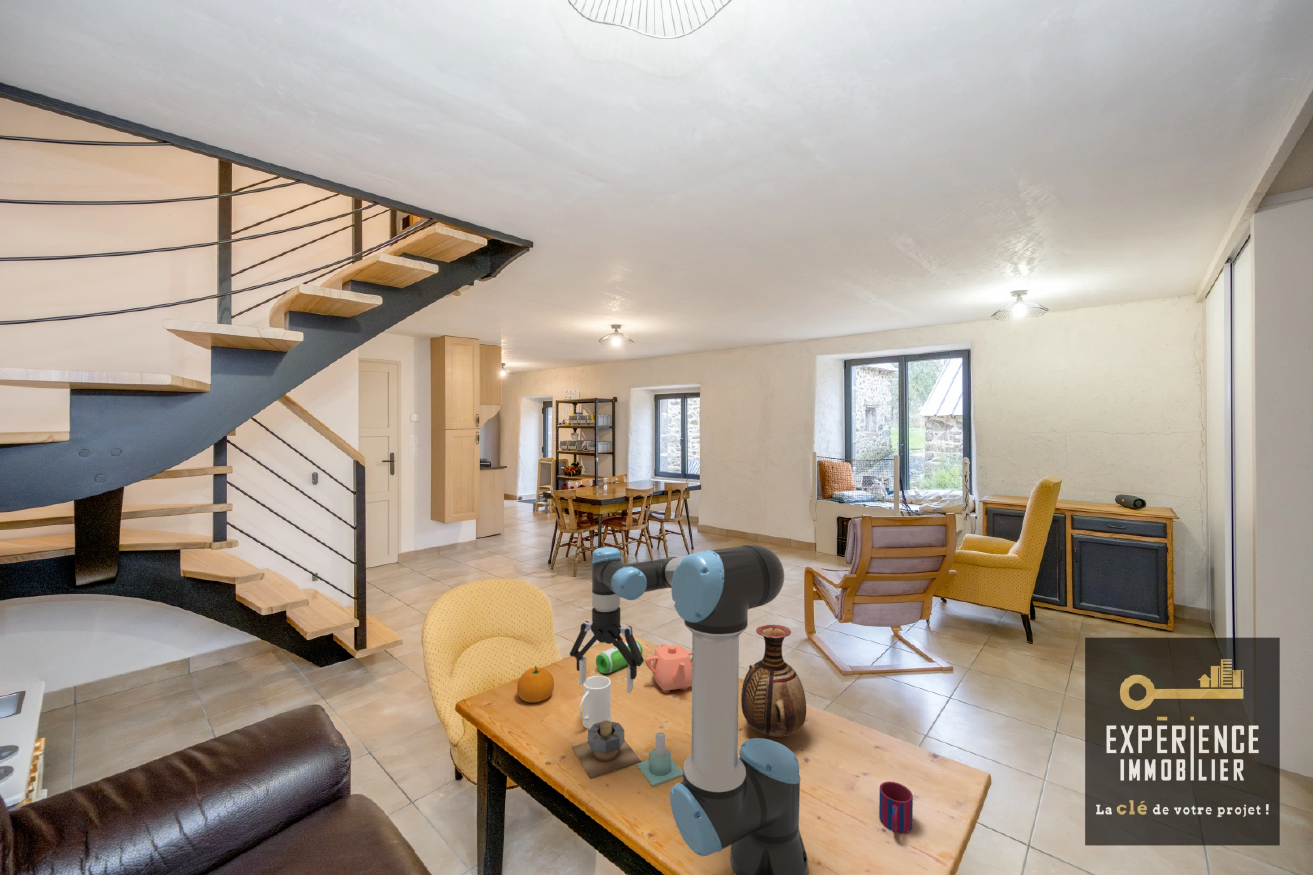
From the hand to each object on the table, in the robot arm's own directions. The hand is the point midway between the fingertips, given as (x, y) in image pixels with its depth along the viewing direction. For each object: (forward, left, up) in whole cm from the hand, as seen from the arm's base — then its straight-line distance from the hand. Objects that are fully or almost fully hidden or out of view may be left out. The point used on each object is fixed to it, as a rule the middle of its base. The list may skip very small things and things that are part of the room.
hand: (606, 686), depth 138 cm
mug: (+15, -2, -19) cm, 24 cm away
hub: (0, 0, -18) cm, 18 cm away
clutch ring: (0, 0, -15) cm, 15 cm away
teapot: (+24, -34, -19) cm, 46 cm away
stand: (-12, -10, -18) cm, 24 cm away
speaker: (+46, -24, -19) cm, 55 cm away
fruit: (+38, +9, -19) cm, 43 cm away
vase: (-13, -46, -19) cm, 51 cm away
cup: (-52, -47, -19) cm, 72 cm away
